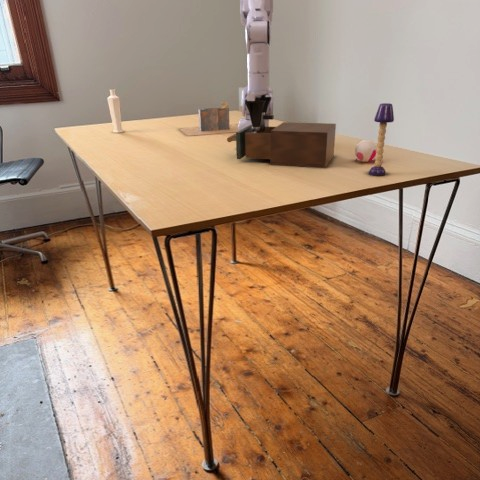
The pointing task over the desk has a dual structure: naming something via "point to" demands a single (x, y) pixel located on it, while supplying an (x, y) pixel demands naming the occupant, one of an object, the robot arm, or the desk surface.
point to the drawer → (252, 143)
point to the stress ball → (365, 151)
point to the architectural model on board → (212, 122)
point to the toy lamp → (381, 135)
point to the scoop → (262, 122)
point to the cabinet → (302, 144)
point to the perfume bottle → (115, 111)
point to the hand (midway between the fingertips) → (258, 125)
